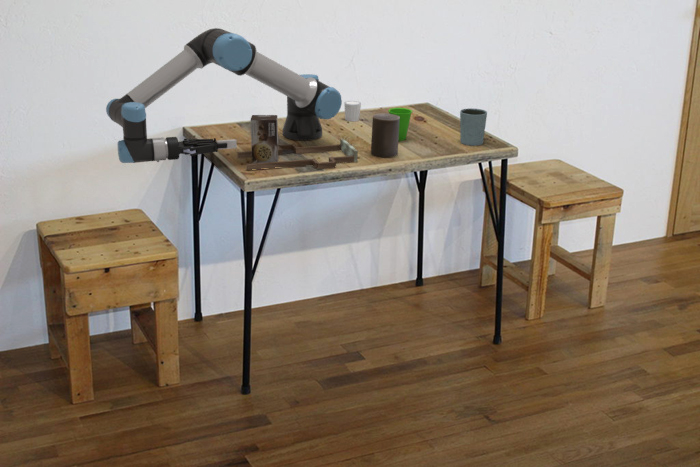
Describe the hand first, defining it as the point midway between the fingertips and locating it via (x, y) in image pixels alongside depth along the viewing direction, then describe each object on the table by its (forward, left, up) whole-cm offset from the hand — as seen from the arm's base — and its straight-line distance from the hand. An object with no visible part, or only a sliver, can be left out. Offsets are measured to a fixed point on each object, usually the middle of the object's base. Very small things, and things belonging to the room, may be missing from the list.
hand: (236, 143), depth 309 cm
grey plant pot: (-4, +91, -8) cm, 91 cm away
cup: (-15, +66, -8) cm, 68 cm away
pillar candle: (+1, +54, -8) cm, 55 cm away
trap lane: (0, +21, -7) cm, 22 cm away
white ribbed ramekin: (-46, +58, -8) cm, 74 cm away
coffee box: (0, +10, -8) cm, 13 cm away
